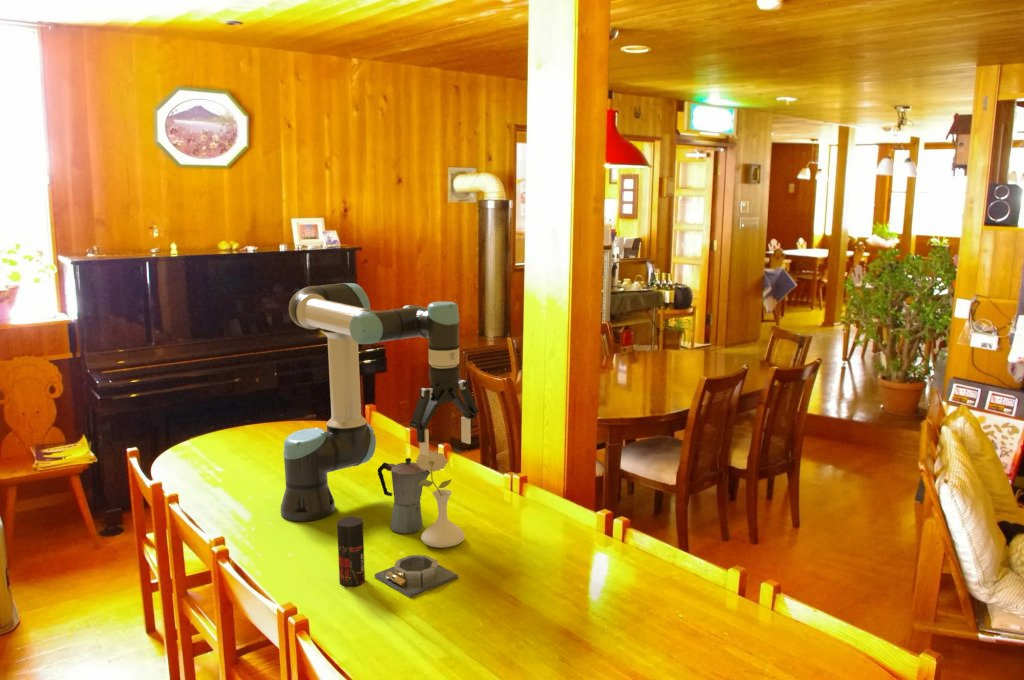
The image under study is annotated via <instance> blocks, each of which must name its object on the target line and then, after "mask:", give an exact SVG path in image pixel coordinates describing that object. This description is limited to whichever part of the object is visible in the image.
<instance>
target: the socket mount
mask: <svg viewBox="0 0 1024 680" xmlns="http://www.w3.org/2000/svg"><path fill="white" fill-rule="evenodd" d="M458 577H459V575H458V574H457V573H456V572H454V571H452V570H450V569H448V568H446V567H443V566H442V565H440V564H439V563H438V560H437V559H435V558H433V557H431V556H429V555H424V554H423V555H422V554H421V555H420V554H415V555H414V554H411V555H407V556H405V557H401V558H399V559H397V560H396V561H395V562H394V566H391V567H389V568H386V569H384V570H381V571H379V572H376V573H374V578H375V579H376V580H378V581H380V582H382V583H383V584H385V585H387V586H388V587H391V589H394V590H395V591H398V592H399V593H401V594H403V595H404V596H406V597H407V598H409V599H411V598H413V597H416V596H418V595H421V594H423V593H425V592H428V591H431V590H433V589H435V588H437V587H440V586H443V585H445V584H447V583H449V582H452V581H454V580H457V579H458Z"/></svg>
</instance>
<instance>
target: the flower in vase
mask: <svg viewBox="0 0 1024 680" xmlns="http://www.w3.org/2000/svg"><path fill="white" fill-rule="evenodd" d="M415 463H418V464H417V465H418V466H419V468H421V469H423V470H428V471H429V472H430V473H431V474H430V477H431V480H428V479H426V480H422V481H420V482H419V483H418V485H422V486H423V487H426V488H428V487H429V488H430V487H431V486H432V485H434V487H435V488H436V490H434V491H432V496H433V497H434V498H435V500H436V503H437V510H438V511H437V518H436V520H435V522H433V523H432V524H431V525H429V526H428V527H427V528H425V529H424V531H423V532H422V534H421V536H420V539H421V541H422V542H423V543H424V544H425V545H426V546H429V547H433V548H443V549H444V548H450V547H454V546H457V545H459V544H461V543H462V542H463V541H464V539H465V537H466V536H465V533H464V530H462V528H461V527H459V526H458V525H456V524H454V523H453V522H452V521H451V520H449V518H448V512H447V511H448V509H447V508H448V502H449V499H450V496H452V494H453V493H452V490H450V489H445V488H446V487H448V485H449V486H450V483H451V482H452V478H450V479H448V480H444V481H442V482H441V483H440V484H439V486H437V485H436V483H435V482H434V480H433V473H435V472H438V471H441V470H444V469H445V467H446V466H447V464H448V459H447V458H446V455H444V454H443V453H442V452H439V451H438V450H434V451H433V450H431V449H429V455H428V456H425V455H422V454H420V453H419V454H418V455H417V457H416V460H415Z"/></svg>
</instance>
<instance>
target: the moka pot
mask: <svg viewBox="0 0 1024 680" xmlns="http://www.w3.org/2000/svg"><path fill="white" fill-rule="evenodd" d="M417 464H418V463H416V462H412V458H409V457H408V458H405V462H400V463H396V464H395V463H388V462H382V464H381V465H380V466H379V467H378V469H377V475H378V478H379V481H380V484H381V487H382V492H383V494H384V495H385V496H389V497H392V496H394V499H393V500H394V502H393V508H392V514H391V522H390V529H391V530H392V531H393V532H395V533H399V534H403V535H406V534H408V535H410V534H415V533H418V532H420V531H421V530H422V529H423V516H422V508H421V507H422V506H421V500H422V499H421V496H422V494H423V487H424V486H422V485H418V483H419V482H420V481H422V480H428V477H429V475H431V471H430V472H429V471H428V470H423V469H421V468H419V466H418V465H417ZM383 470H386V471H388V472H390V473H391V480H392V481H391V482H392V491H393V492H389V491H388V488H387V486H386V482H385V477H384V474H383Z"/></svg>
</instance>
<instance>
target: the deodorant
mask: <svg viewBox="0 0 1024 680" xmlns="http://www.w3.org/2000/svg"><path fill="white" fill-rule="evenodd" d="M336 530H337V531H336V532H337V552H338V553H337V555H338V577H339V578H338V580H339V585H340V586H341V585H342V586H341V587H343V586H344V588H348V587H352V588H358V587H361V586H362V585H363V584H365V582H366V575H365V574H366V573H365V571H366V570H365V546H364V545H365V544H364V540H365V539H364V519H362V518H361V517H358V516H345V517H343V518H339V520H337V521H336Z"/></svg>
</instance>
